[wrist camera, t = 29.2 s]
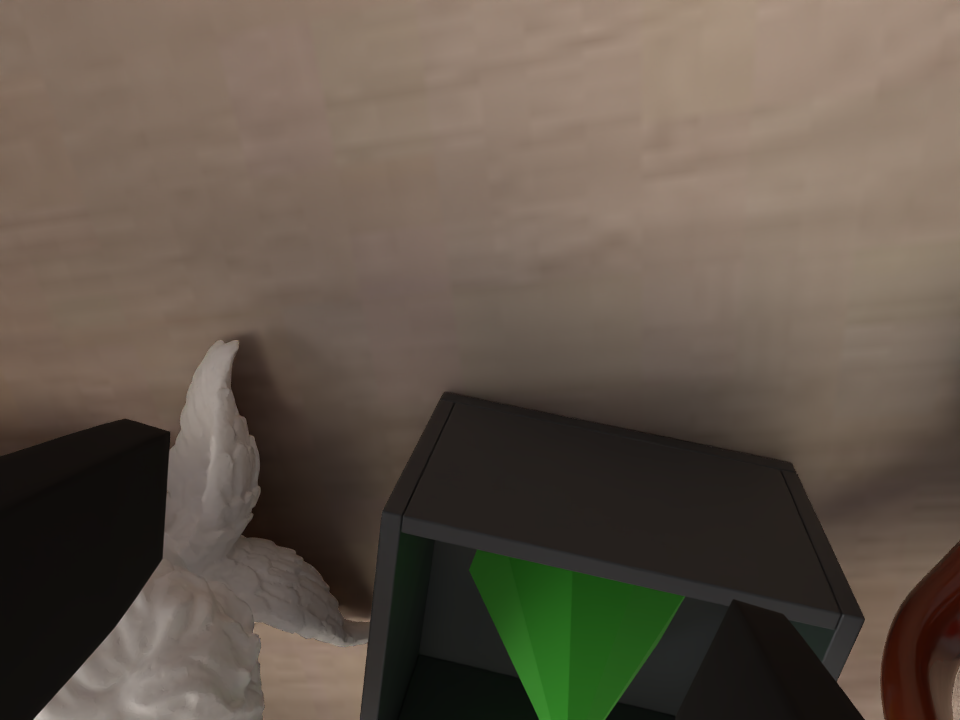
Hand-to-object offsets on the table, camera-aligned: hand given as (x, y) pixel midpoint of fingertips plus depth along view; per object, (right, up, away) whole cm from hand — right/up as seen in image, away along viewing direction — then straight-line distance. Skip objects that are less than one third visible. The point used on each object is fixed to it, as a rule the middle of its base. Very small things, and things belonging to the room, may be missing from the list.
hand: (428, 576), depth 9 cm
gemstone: (+3, -3, +10) cm, 11 cm away
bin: (+3, -3, +11) cm, 12 cm away
